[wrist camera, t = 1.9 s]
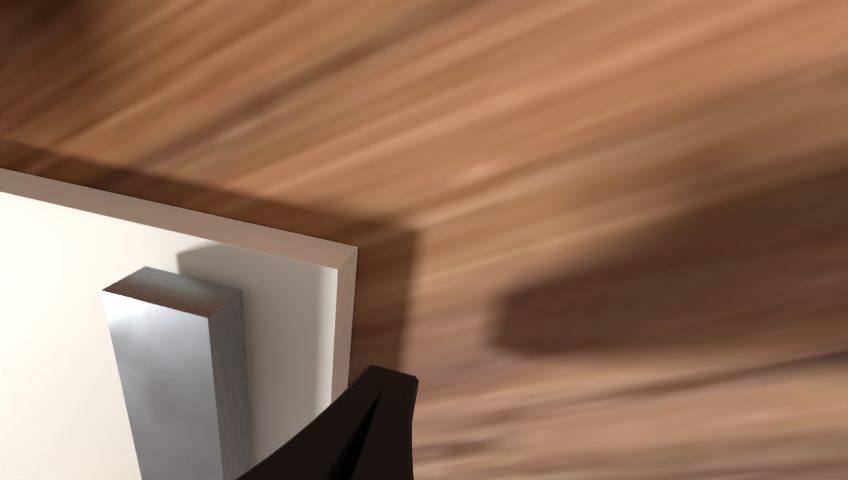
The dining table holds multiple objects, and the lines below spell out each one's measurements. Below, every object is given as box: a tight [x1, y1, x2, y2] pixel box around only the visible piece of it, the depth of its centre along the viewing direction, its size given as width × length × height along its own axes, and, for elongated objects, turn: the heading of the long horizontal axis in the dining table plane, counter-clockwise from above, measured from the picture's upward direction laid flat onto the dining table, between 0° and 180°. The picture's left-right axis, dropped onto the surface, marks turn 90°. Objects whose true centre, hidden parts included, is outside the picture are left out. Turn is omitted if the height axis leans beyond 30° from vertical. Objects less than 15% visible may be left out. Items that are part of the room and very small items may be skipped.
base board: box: [0, 168, 358, 480], centre depth 17 cm, size 18×16×2 cm
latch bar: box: [101, 266, 252, 480], centre depth 13 cm, size 12×3×2 cm, turn 173°
